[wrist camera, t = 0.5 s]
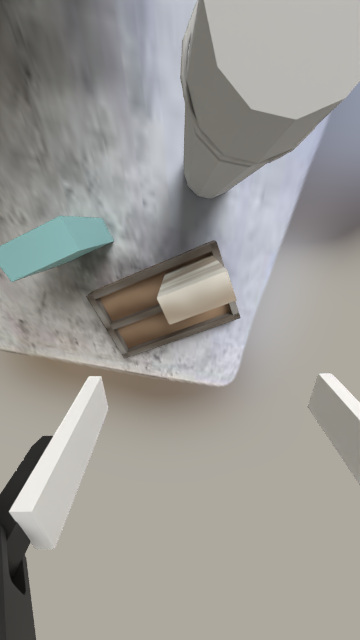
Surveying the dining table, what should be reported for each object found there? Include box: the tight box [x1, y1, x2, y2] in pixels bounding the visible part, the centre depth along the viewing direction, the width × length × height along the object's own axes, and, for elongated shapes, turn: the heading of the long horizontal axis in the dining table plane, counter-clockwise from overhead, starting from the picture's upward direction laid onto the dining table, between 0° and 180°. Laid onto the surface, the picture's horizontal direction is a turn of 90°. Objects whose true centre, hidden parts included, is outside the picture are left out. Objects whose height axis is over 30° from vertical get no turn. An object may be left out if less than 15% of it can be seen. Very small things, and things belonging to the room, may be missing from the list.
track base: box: [86, 240, 240, 358], centre depth 31 cm, size 13×22×13 cm, turn 112°
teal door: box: [0, 216, 113, 282], centre depth 28 cm, size 4×9×12 cm, turn 112°
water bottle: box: [180, 0, 360, 199], centre depth 17 cm, size 9×8×25 cm
